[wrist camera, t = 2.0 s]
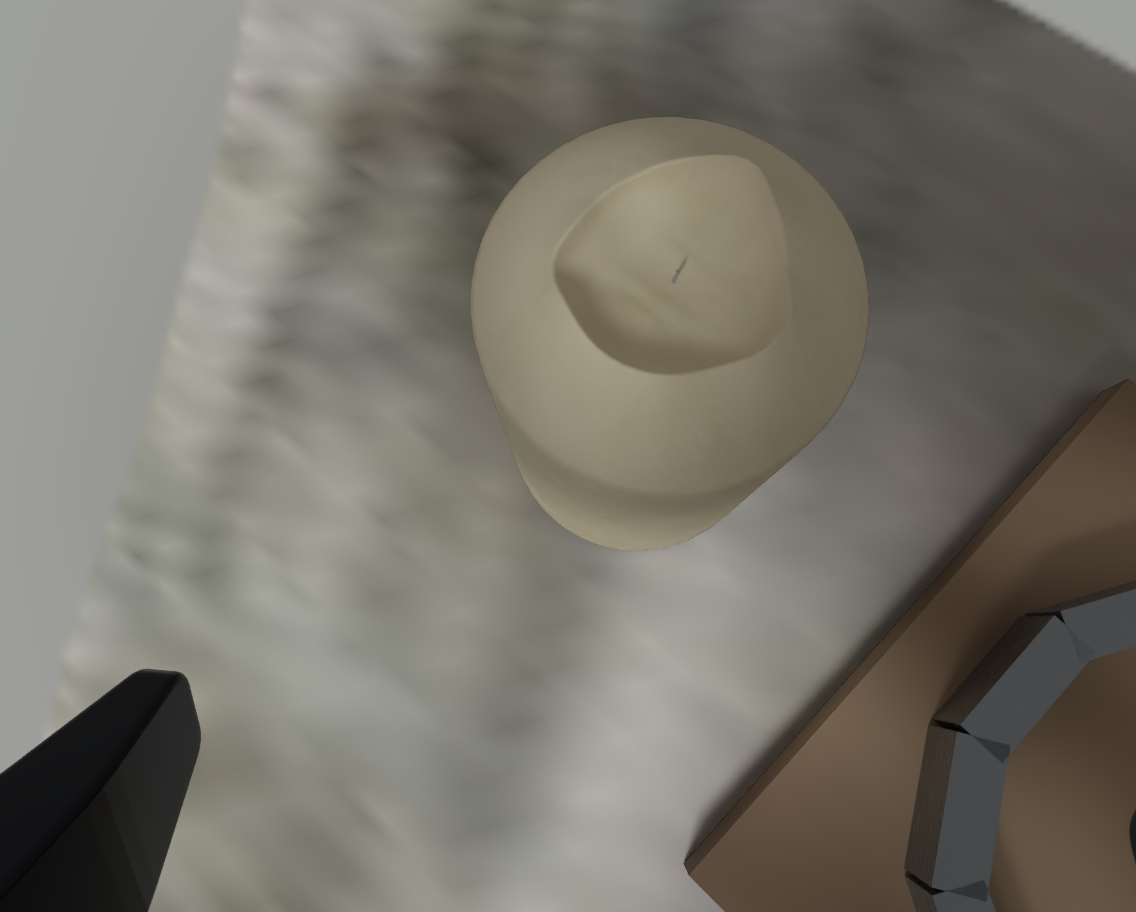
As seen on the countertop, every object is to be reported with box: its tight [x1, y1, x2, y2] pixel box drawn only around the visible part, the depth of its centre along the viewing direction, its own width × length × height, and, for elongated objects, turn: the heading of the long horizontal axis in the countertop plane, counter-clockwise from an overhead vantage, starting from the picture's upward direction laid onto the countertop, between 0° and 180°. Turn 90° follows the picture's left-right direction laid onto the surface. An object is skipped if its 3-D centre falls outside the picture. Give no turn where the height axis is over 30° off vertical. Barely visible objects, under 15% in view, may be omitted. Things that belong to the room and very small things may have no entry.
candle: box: [471, 117, 869, 551], centre depth 17 cm, size 6×6×10 cm
